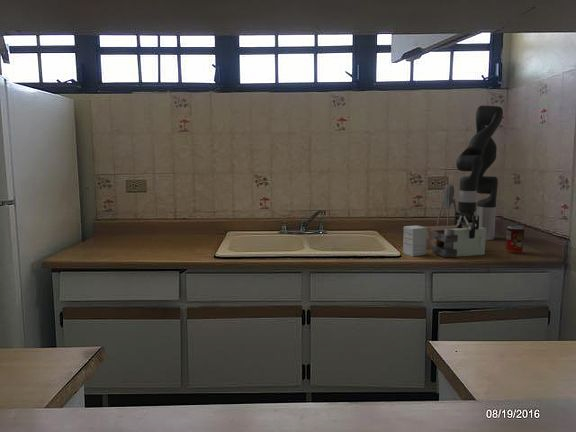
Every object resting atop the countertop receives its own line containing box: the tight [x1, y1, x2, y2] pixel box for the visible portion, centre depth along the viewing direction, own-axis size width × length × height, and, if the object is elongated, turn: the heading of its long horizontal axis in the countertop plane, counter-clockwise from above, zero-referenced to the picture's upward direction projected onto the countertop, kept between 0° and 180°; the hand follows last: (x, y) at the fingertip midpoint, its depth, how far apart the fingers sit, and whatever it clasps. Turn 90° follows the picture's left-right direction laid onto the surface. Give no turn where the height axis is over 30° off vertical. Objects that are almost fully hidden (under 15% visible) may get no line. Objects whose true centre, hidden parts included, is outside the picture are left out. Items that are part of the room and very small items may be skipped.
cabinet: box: [424, 224, 469, 258], centre depth 206 cm, size 21×22×10 cm
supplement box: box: [402, 225, 427, 257], centre depth 201 cm, size 7×7×13 cm
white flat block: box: [444, 227, 487, 257], centre depth 199 cm, size 4×20×12 cm, turn 104°
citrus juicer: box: [436, 183, 458, 226], centre depth 225 cm, size 11×10×30 cm
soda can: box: [505, 224, 525, 255], centre depth 204 cm, size 7×7×12 cm
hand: (465, 236), depth 199 cm, fingers open, 8 cm apart
